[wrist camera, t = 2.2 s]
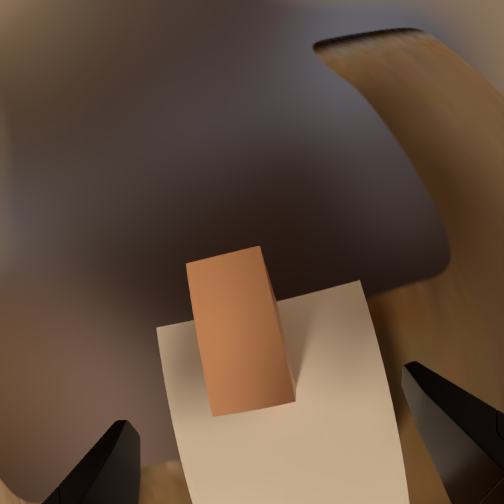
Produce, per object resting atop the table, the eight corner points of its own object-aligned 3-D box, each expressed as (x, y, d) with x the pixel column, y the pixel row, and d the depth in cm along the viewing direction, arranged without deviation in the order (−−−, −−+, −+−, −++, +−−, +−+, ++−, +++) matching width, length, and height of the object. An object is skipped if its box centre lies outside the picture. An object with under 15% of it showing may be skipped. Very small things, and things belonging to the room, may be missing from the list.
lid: (405, 502, 11) (472, 574, 4) (210, 540, 12) (150, 624, 4) (357, 284, 16) (403, 203, 8) (162, 330, 16) (62, 288, 9)
